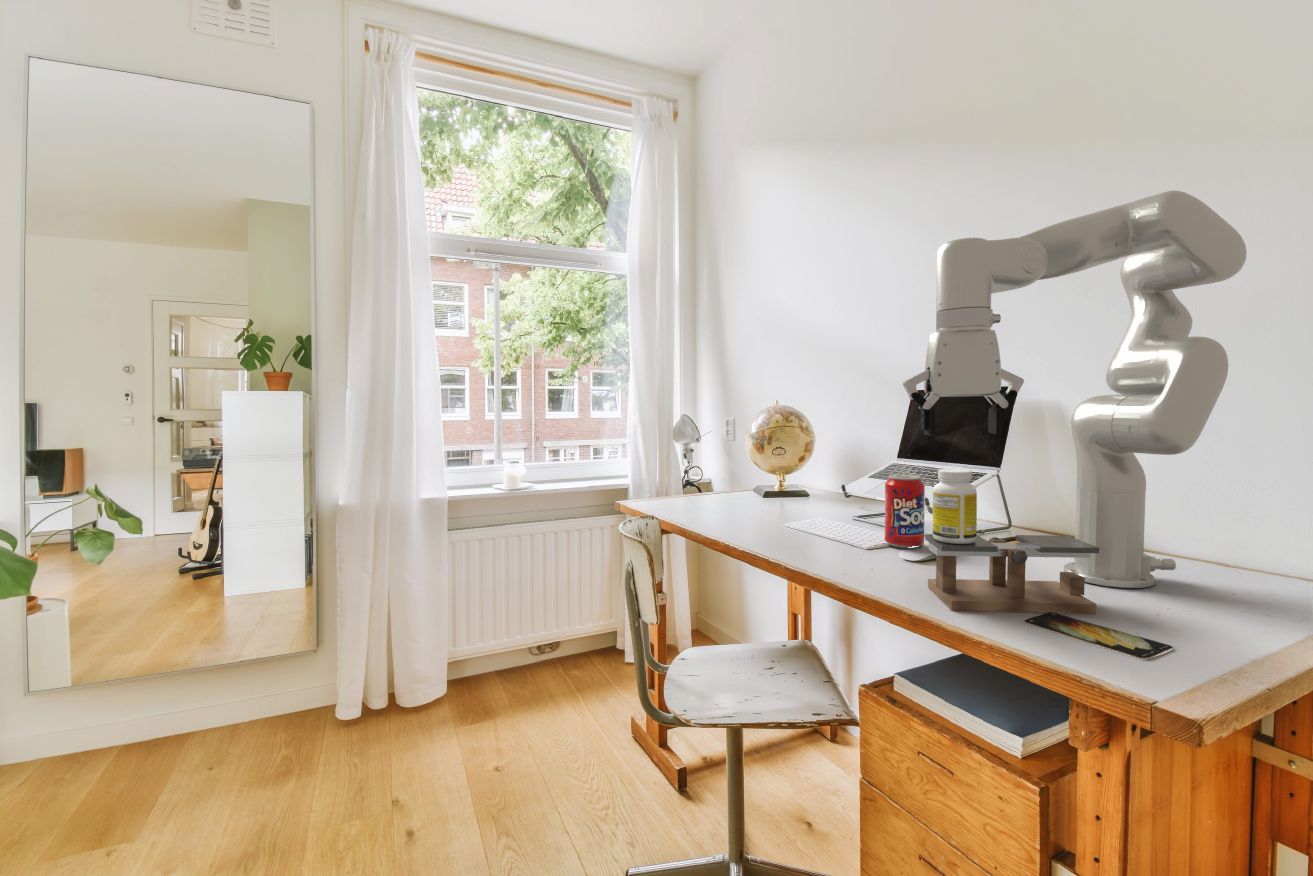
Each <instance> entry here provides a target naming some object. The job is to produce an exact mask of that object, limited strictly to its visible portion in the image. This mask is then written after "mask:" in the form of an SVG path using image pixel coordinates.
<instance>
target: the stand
mask: <svg viewBox="0 0 1313 876" xmlns="http://www.w3.org/2000/svg"><path fill="white" fill-rule="evenodd" d="M988 541H989V542H990V543H1007V541H1006V540H1005V539H1000V538H999V537H997V536H996V537H995V536H994V537H990V538H989V540H988ZM935 555H936V554H935ZM935 557H936V558H935V560H936V561H935V578H927V588H928V589H929V591H931V592H932V593H933V594H934V595H935V596H936V597H937V598H938V599H939V600H940V602H942V603H943V604H944V605H945V606H946V607H947V608H949V610H950V611H954V612H955V611H956V612H957V611H958V612H995V613H996V612H999V613H1002V612H1003V613H1033V614H1034V613H1035V614H1036V613H1039V614H1041V613H1043V614H1045V613H1049V612H1052V613H1057V614H1078V615H1079V614H1081V615H1083V614H1084V615H1096V614H1097V602H1096V603H1095V602H1094V601H1091V600H1090V599H1088V598H1086V597H1085V583H1086V582H1085V578H1084V577H1082V576H1080V575H1079V574H1077V573H1075V572H1064V571H1059V582H1058V581H1056V580H1026V561H1027V560H1028V557H1027V554H1026V551H1024V550H1022V549H1008V557H999V556H989V576H988V577H989V578H988V579H965V578H964V579H961V578H959V579H957V556H937V555H936V556H935Z"/></svg>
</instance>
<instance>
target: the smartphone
mask: <svg viewBox="0 0 1313 876" xmlns="http://www.w3.org/2000/svg"><path fill="white" fill-rule="evenodd" d="M1023 622H1024V623H1025V624H1028V625H1031V626H1033V627H1036V628H1037V627H1038V628H1041V629H1043V630H1047V631H1050V632H1052V633H1057V634H1059V635H1062V636H1065V637H1067V638H1068V637H1069V638H1072V639H1073V640H1077V641H1081V642H1083V643H1087V642H1088V643H1087V644H1090V643H1091V644H1090V645H1093V644H1095V645H1094V646H1096V645H1099V646H1101V647H1100V648H1102V647H1104V648H1103V649H1106V648H1108V649H1107V650H1109V649H1111V650H1110V651H1112V650H1114V651H1113V652H1115V651H1118V652H1121V653H1124V654H1127V655H1130V656H1129V657H1131V656H1133V657H1132V658H1134V657H1136V658H1135V659H1137V658H1139V659H1138V660H1140V659H1143V660H1142V661H1146V660H1145V659H1150V658H1153V657H1154V656H1156V655H1158V654H1161V653H1163V652H1165V651H1168V650H1170V649H1172V648H1174V647H1173V646H1172V645H1169V644H1167V643H1163V642H1160V641H1156V640H1152V639H1149V638H1145V637H1142V636H1139V635H1134V634H1133V633H1128V632H1123V631H1120V630H1117V629H1114V628H1110V627H1106V626H1103V625H1099V624H1096V623H1092V622H1089V621H1086V620H1081V619H1079V618H1075V617H1071V616H1067V615H1065V614H1062V613H1052V612H1049V613H1043V614H1039V615H1035V616H1032V617H1029V618H1025V619H1024V620H1023ZM1099 646H1098V647H1099ZM1118 652H1117V653H1118ZM1121 653H1120V654H1121ZM1124 654H1123V655H1124ZM1127 655H1126V656H1127ZM1153 659H1154V658H1153ZM1150 660H1151V659H1150Z"/></svg>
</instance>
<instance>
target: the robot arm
mask: <svg viewBox="0 0 1313 876" xmlns="http://www.w3.org/2000/svg"><path fill="white" fill-rule="evenodd" d="M1246 246H1247V245H1246V243H1245V240H1244V239H1243V236H1242V235H1241V234H1240V233H1239V231H1238V230H1237V229H1236V228H1234V227H1233V226H1232V225H1231V224H1230V223H1229V222H1227V221H1226V220H1225V219H1224V218H1223V217H1222V216H1220V215H1219V214H1218V213H1217V212H1216V211H1215V210H1213V209H1212V208H1211V207H1210V206H1208V205H1207V204H1206V203H1205V202H1203V201H1202V200H1201V199H1199V198H1197V197H1196V196H1193V195H1191V194H1189V193H1187V192H1184V191H1180V190H1167V191H1164V192H1161V193H1156V194H1153V195H1150V196H1148V197H1144V198H1140V199H1137V200H1134V201H1133V200H1132V201H1129V202H1128V203H1123V204H1120V205H1116V206H1113V207H1109V208H1107V209H1102V210H1099V211H1096V212H1093V213H1089V214H1085V215H1082V216H1077V217H1074V218H1070V219H1067V220H1064V221H1061V222H1057V223H1054V224H1050V225H1049V226H1048V225H1047V226H1046V227H1043V228H1040V229H1038V230H1036V231H1033V232H1031V233H1028V234H1025V235H1022V236H1019V237H1013V238H1012V237H1011V238H1002V239H992V240H988V239H985V238H982V237H965V238H957V239H954V240H951V241H947V242H946V243H943V244H942V245H941V246H939V248H938V249H937V253H936V287H935V288H936V295H935V296H936V298H935V299H936V302H935V303H936V305H935V307H936V310H935V312H936V313H935V315H936V317H935V318H936V319H935V320H936V321H935V329H936V330H935V331H936V332H934V333H930V334H929V338H928V343H927V348H926V356H925V357H926V358H925V364H924V371H922V372H920V373H918V374H915V375H914V376H912V377H910V378H908V379H906V380H904V381H903V383H902V386H903V388H904V389H905V392H906V393H907V395H908V398H909V399H910V400H911V401H912V402H913V403H914V404H915V405H916V406H917V407H918V409H920V428H921V430H922V431H923V434H924V435H925V436H935V435H936V410H935V409H933V406H934V404H936V403H937V402H938V400H939V399H941V398H944V397H945V398H946V397H948V398H949V397H951V398H954V397H957V398H958V397H959V398H960V397H984V398H985V399H986V400H987V401H988V402H989V404H990V405H991V407H989V408H988V419H987V421H988V424H987V425H988V428H987V430H988V431H987V432H988V433H989V434H992V435H1002V431H1003V429H1004V428H1005V410H1006V409H1007V408H1008V407H1009V404H1010V403H1011V402H1013V400H1015V399H1016V397H1017V396H1018V393H1019V392H1020V390H1021V388H1022V386H1023V384H1024V383H1025V380H1024V378H1023V377H1020V376H1018V375H1016V374H1014V373H1012V372H1010V371H1007V370H1006V369H1003V368H1002V365H1001V356H1000V355H1001V352H1000V347H999V342H998V337H997V333H996V329H992V328H993V325H994V324H1000V322H1001V318H1002V317H1001V314H999V313H997V314H996V313H993V309H992V295H993V294H998V293H1001V292H1002V293H1003V292H1009V291H1014V290H1018V289H1021V288H1025V287H1028V286H1030V285H1032V284H1034V283H1036V282H1037V281H1040V280H1048V279H1054V278H1059V277H1062V276H1066V275H1071V274H1074V273H1079V272H1082V271H1084V270H1087V269H1091V268H1093V267H1097V266H1101V265H1103V264H1104V265H1105V264H1106V263H1111V262H1113V261H1117V260H1120V259H1122V258H1124V259H1123V260H1122V263H1121V267H1120V272H1119V275H1120V281H1121V283H1122V286H1123V288H1124V292H1125V294H1126V296H1127V300H1128V302H1129V305H1130V309H1131V311H1130V312H1131V316H1130V321H1129V323H1128V326H1127V328H1126V330H1125V332H1124V334H1123V336H1122V337H1121V340H1120V342H1119V344H1118V347H1117V348H1116V350H1115V352H1114V354H1113V356H1112V358H1111V360H1110V362H1109V364H1108V367H1107V370H1106V375H1105V380H1106V385H1107V386H1108V387H1109V389H1110V390H1112V391H1113V392H1115V393H1117V394H1105V395H1096V396H1092V397H1090V398H1087V399H1085V400H1083V401H1081V402H1080V403H1078V405H1077V406H1076V407H1075V408H1074V410H1073V412H1072V415H1071V419H1070V425H1071V426H1070V427H1071V429H1070V430H1071V433H1072V438H1073V439H1072V440H1073V443H1074V448H1075V454H1076V456H1075V457H1076V491H1075V492H1076V494H1075V496H1076V499H1075V527H1074V529H1075V531H1074V538H1076V539H1079V540H1081V541H1083V542H1086V543H1088V544H1091V545H1093V546H1096V547H1098V548H1099V553H1091V558H1074V562H1073V561H1072V562H1068V563H1066V564H1064V566H1063V572H1075V573H1077V574H1079V575H1080V576H1082V577H1084V578H1085V583H1088V584H1093V585H1098V586H1103V587H1111V588H1119V589H1121V588H1122V589H1145V588H1149V587H1152V586H1154V585H1155V583H1156V581H1155V580H1156V579H1155V575H1153V574H1151V572H1153V573H1154V572H1155V571H1156V570H1161V571H1175V570H1176V567H1177V563H1176V561H1175V560H1174V559H1173V558H1157V557H1156V556H1151V555H1148V554H1146V553H1144V550H1145V549H1144V548H1145V520H1146V518H1145V517H1146V491H1147V479H1146V473H1145V471H1144V468H1143V466H1142V465H1141V462H1140V461H1139V459H1138V457H1136V455H1135V454H1146V455H1163V456H1171V455H1172V456H1174V455H1178V454H1182V453H1185V452H1186V451H1188V450H1190V448H1191V449H1192V447H1193V446H1194V445H1195V443H1197V441H1198V439H1199V438H1200V436H1201V434H1202V432H1203V430H1204V428H1205V426H1206V423H1207V422H1208V420H1209V418H1210V416H1211V414H1212V413H1213V412H1212V411H1213V409H1214V408H1215V405H1216V404H1217V401H1218V399H1219V398H1220V395H1221V393H1222V391H1223V388H1224V386H1225V384H1226V381H1227V378H1228V372H1229V358H1228V357H1229V356H1228V354H1227V351H1226V350H1225V348H1224V346H1223V345H1222V344H1221V343H1220V342H1218V341H1217V340H1215V339H1213V338H1210V337H1206V336H1189V335H1190V333H1191V331H1192V328H1193V317H1192V315H1191V313H1190V311H1189V310H1188V308H1187V307H1186V306H1185V305H1184V304H1183V303H1182V302H1181V301H1180V300H1179V298H1178V297H1177V295H1176V294H1175V292H1174V291H1173V290H1177V289H1178V290H1179V289H1185V288H1190V287H1191V288H1192V287H1197V286H1198V287H1199V286H1203V285H1210V284H1211V285H1212V284H1215V283H1219V282H1220V283H1221V282H1224V281H1226V280H1229V279H1230V278H1232V277H1234V276H1235V275H1237V274H1238V273H1239V272H1240V271H1241V270H1242V268H1243V266H1244V264H1245V263H1246V260H1247V247H1246ZM1002 381H1004V382H1006V383H1007V384H1008V387H1007V390H1005V391H1004V392H1003V393H1001V392H1000V391H1001V390H1002V389H1001V388H1002ZM921 383H923V391H924V393H925V395H924V396H923V395H922V394H920V393H919V391H918V389H917V386H918V385H919V384H921Z"/></svg>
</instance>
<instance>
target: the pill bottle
mask: <svg viewBox="0 0 1313 876" xmlns="http://www.w3.org/2000/svg"><path fill="white" fill-rule="evenodd" d="M937 471H938V472H937V478H938V480H939V482H938V483H936V484H935V485H934V486H933V489H932V534H933V537H934V539H936V540H937V541H940V542H944V543H951V544H970V543H973V542H975V541H976V535H977V533H978V532H977V529H978V528H977V527H978V525H977V518H978V517H977V515H978V514H977V511H978V509H977V508H978V503H977V502H978V501H977V500H978V499H977V498H978V496H977V495H978V491H977V489H976V486H974V485H973V484H971V483H970V482H971V481H972V477H973V474H972V470H970V469H963V468H941V469H938V470H937Z"/></svg>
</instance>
